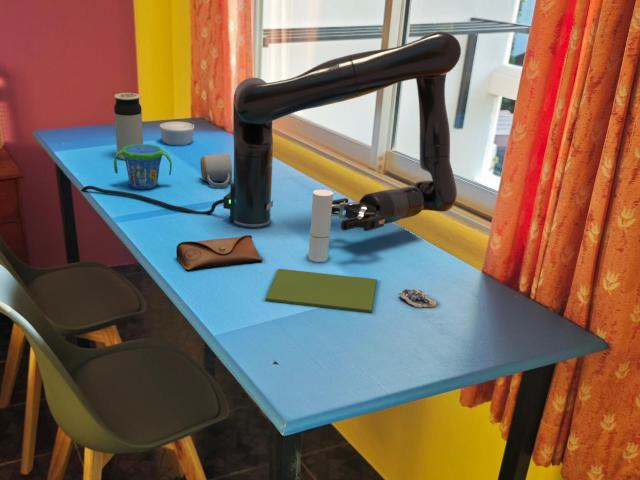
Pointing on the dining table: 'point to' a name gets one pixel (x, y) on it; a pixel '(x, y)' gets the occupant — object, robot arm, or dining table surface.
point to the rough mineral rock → (417, 298)
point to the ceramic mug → (216, 169)
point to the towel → (323, 290)
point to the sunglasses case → (217, 252)
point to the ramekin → (177, 133)
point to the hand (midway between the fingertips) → (329, 219)
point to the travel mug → (128, 121)
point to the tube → (320, 225)
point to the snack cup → (142, 164)
